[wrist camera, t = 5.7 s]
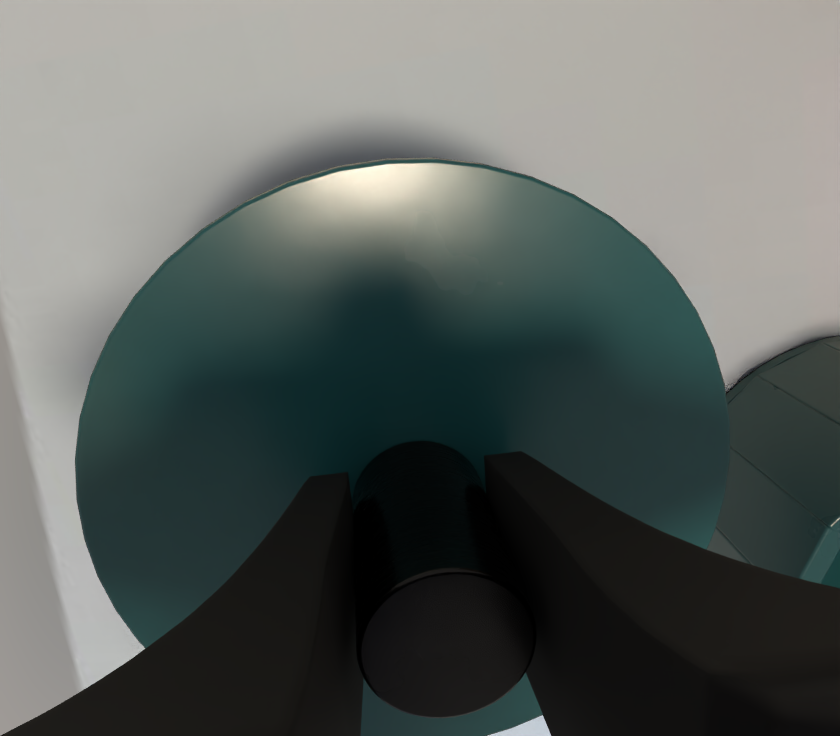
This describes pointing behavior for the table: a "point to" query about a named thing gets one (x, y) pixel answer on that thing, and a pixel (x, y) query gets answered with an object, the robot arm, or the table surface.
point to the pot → (785, 466)
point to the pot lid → (396, 412)
